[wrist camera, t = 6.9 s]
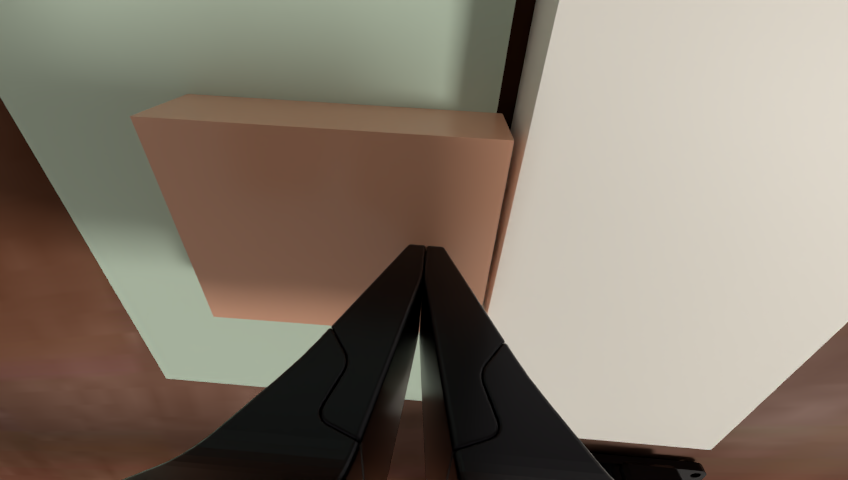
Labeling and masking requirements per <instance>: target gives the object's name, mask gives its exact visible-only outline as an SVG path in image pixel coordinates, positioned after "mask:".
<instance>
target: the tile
mask: <svg viewBox="0 0 848 480" xmlns="http://www.w3.org/2000/svg"><path fill="white" fill-rule="evenodd" d="M130 118H131V120H132V123H133V125H134V128H135V130H136V132H137V135H138V137H139V140H140V142H141V144H142V147H143V149H144V151H145V154H146V156H147V159H148V161H149V163H150V166H151V168H152V171H153V173H154V175H155V178H156V180H157V183H158V185H159V187H160V190H161V192H162V195H163V197H164V199H165V202H166V204H167V207H168V209H169V211H170V214H171V216H172V218H173V221H174V223H175V226H176V228H177V230H178V233H179V235H180V238H181V240H182V242H183V245H184V247H185V250H186V252H187V254H188V257H189V259H190V262H191V264H192V266H193V269H194V271H195V274H196V276H197V278H198V281H199V283H200V285H201V288H202V290H203V293H204V295H205V297H206V300H207V302H208V305H209V307H210V309H211V312H212V314H213V317H224V318H237V319H250V320H263V321H276V322H290V323H303V324H316V325H329V326H332V325H333V324H334V323H335V322H336V321H337V320H338V319H339V318H340V317H341V316H342V314H343V313H344V312H345V311H346V310H347V309H348V308H349V307H350V306H351V305H352V304H353V303H354V302H355V301H356V300H357V299H358V298H359V297H360V295H361V294H362V293H363V292H364V291H365V290H366V289H367V288H368V287H369V286H370V285H371V284H372V283H373V282H374V281H375V280H376V279H377V277H378V276H379V275H380V274H381V273H382V272H383V271H384V270H385V269H386V268H387V267H388V266H389V265H390V264H391V263H392V262H393V261H394V260H395V258H396V257H397V256H398V255H399V254H400V253H401V252H402V251H403V250H404V249H405V248H406V247H407V246H408V245H409V244H416V245H424V246H425V247H427V246H440V247H443V248H445V250H446V251H447V253H448V255H449V256H450V258H451V259H452V261H453V262H454V264H455V265H456V267H457V268H458V270H459V271H460V273H461V275H462V276H463V278H464V279H465V281H466V282H467V284H468V285H469V287H470V288H471V290H472V291H473V293H474V294H475V296H476V298H477V299H478V301H479V302H480V304H481V305H483V300H484V295H485V290H486V285H487V280H488V274H489V269H490V264H491V259H492V254H493V249H494V243H495V238H496V233H497V228H498V223H499V218H500V212H501V207H502V202H503V197H504V192H505V187H506V181H507V176H508V171H509V166H510V161H511V155H512V150H513V145H514V139H513V136H512V134H511V132H510V130H509V127H508V125H507V123H506V120H505V118H504V116H503V114H502V113H488V112H472V111H456V110H440V109H424V108H407V107H391V106H375V105H359V104H343V103H327V102H310V101H294V100H278V99H262V98H246V97H230V96H214V95H197V94H186V95H183V96H181V97H178V98H175V99H173V100H170V101H168V102H165V103H163V104H160V105H157V106H155V107H152V108H150V109H147V110H145V111H142V112H139V113H137V114H134V115H132V116H130ZM420 317H421V315H420ZM419 332H420V327H419Z"/></svg>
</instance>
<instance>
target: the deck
mask: <svg viewBox="0 0 848 480" xmlns="http://www.w3.org/2000/svg"><path fill="white" fill-rule="evenodd" d="M510 132H511V134H512V136H513V139H514V145H513V150H512V155H511V161H510V166H509V171H508V176H507V181H506V187H505V192H504V197H503V202H502V207H501V212H500V218H499V223H498V228H497V233H496V238H495V243H494V249H493V254H492V259H491V264H490V269H489V274H488V280H487V285H486V290H485V295H484V300H483V305H482V307H483V308H484V310H485V311H486V313H487V314H488V316H489V318H490V319H491V321H492V322H493V324H494V325H495V327H496V328H497V330H498V331H499V333H500V334H501V336H502V338H503V339H504V341H505V343H506V344H507V345H508V346H509V348H510V350H511V351H512V353H513V354H514V356H515V357H516V359H517V360H518V362H519V363H520V365H521V366H522V367H523V369H524V370H525V372H526V373H527V375H528V376H529V378H530V379H531V380H532V381H533V383H534V384H535V385H536V386H537V388H538V389H539V390H540V392H541V393H542V394H543V395H544V397H545V398H546V399H547V400H548V402H549V403H550V404H551V405H552V407H553V408H554V409H555V410H556V411H557V413H558V414H559V415H560V416H561V418H562V419H563V420H564V421H565V422H566V424H567V425H568V426H569V427H570V428H571V430H572V431H573V432H574V433H575V435H576V436H577V437H578V438H582V439H594V440H605V441H616V442H627V443H639V444H650V445H661V446H672V447H684V448H695V449H706V450H711V449H712V448H713V447H714V446H715V445H716V444H718V443H719V442H720V441H721V440H722V439H723V438H724V437H725V436H726V435H727V434H728V433H729V432H730V431H731V430H733V429H734V428H735V427H736V426H737V425H738V424H739V423H740V422H741V421H742V420H743V419H744V418H745V417H746V416H748V415H749V414H750V413H751V412H752V411H753V410H754V409H755V408H756V407H757V406H758V405H759V404H760V403H761V402H762V401H764V400H765V399H766V398H767V397H768V396H769V395H770V394H771V393H772V392H773V391H774V390H775V389H776V388H777V387H779V386H780V385H781V384H782V383H783V382H784V381H785V380H786V379H787V378H788V377H789V376H790V375H791V374H792V373H794V372H795V371H796V370H797V369H798V368H799V367H800V366H801V365H802V364H803V363H804V362H805V361H806V360H807V359H809V358H810V357H811V356H812V355H813V354H814V353H815V352H816V351H817V350H818V349H819V348H820V347H821V346H822V345H823V344H825V343H826V342H827V341H828V340H829V339H830V338H831V337H832V336H833V335H834V334H835V333H836V332H837V331H838V330H840V329H841V328H842V327H843V326H844V325H845V324H846V323H847V322H848V0H536V3H535V8H534V13H533V18H532V23H531V28H530V33H529V38H528V43H527V48H526V53H525V58H524V63H523V69H522V74H521V79H520V84H519V89H518V94H517V99H516V104H515V109H514V114H513V119H512V124H511V129H510Z"/></svg>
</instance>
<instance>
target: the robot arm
mask: <svg viewBox="0 0 848 480" xmlns="http://www.w3.org/2000/svg"><path fill="white" fill-rule="evenodd" d="M420 315H421V317H420ZM419 327H420V332H419ZM418 335H419V345H420V367H421V388H422V410H423V432H424V453H425V475H426V480H702V479H703V478H704V477H705V476H706V472H705V470H704V468H703V467H702V465H701V464H700V463H696V462H685V461H673V460H662V459H651V458H640V457H629V456H618V455H606V454H595V453H590V452H589V450H588V449H587V448H586V447H585V445H584V444H583V443H582V442H581V441H580V439H579V438H578V437H577V436H576V435H575V433H574V432H573V431H572V430H571V428H570V427H569V426H568V425H567V424H566V422H565V421H564V420H563V419H562V418H561V416H560V415H559V414H558V413H557V411H556V410H555V409H554V408H553V407H552V405H551V404H550V403H549V402H548V400H547V399H546V398H545V397H544V395H543V394H542V393H541V392H540V390H539V389H538V388H537V386H536V385H535V384H534V383H533V381H532V380H531V379H530V378H529V376H528V375H527V373H526V372H525V370H524V369H523V367H522V366H521V365H520V363H519V362H518V360H517V359H516V357H515V356H514V354H513V353H512V351H511V350H510V348H509V346H508V345H507V344H506V343H505V341H504V339H503V338H502V336H501V334H500V333H499V331H498V330H497V328H496V327H495V325H494V324H493V322H492V321H491V319H490V318H489V316H488V314H487V313H486V311H485V310H484V308H483V307H482V305H481V304H480V302H479V301H478V299H477V298H476V296H475V294H474V293H473V291H472V290H471V288H470V287H469V285H468V284H467V282H466V281H465V279H464V278H463V276H462V275H461V273H460V271H459V270H458V268H457V267H456V265H455V264H454V262H453V261H452V259H451V258H450V256H449V255H448V253H447V251H446V250H445V248H443V247H440V246H427V247H425V246H424V245H416V244H409V245H408V246H407V247H406V248H405V249H404V250H403V251H402V252H401V253H400V254H399V255H398V256H397V257H396V258H395V260H394V261H393V262H392V263H391V264H390V265H389V266H388V267H387V268H386V269H385V270H384V271H383V272H382V273H381V274H380V275H379V276H378V277H377V279H376V280H375V281H374V282H373V283H372V284H371V285H370V286H369V287H368V288H367V289H366V290H365V291H364V292H363V293H362V294H361V295H360V297H359V298H358V299H357V300H356V301H355V302H354V303H353V304H352V305H351V306H350V307H349V308H348V309H347V310H346V311H345V312H344V313H343V314H342V316H341V317H340V318H339V319H338V320H337V321H336V322H335V323H334V324H333V325H332V326H331V328H329V329H328V330H327V331H326V332H325V333H324V334H323V335H322V336H321V338H320V339H319V340H318V341H317V342H316V343H315V344H314V345H313V346H312V347H311V348H310V349H309V350H308V351H307V352H306V353H305V354H304V355H303V356H302V357H301V358H299V359H298V360H297V361H296V362H295V363H294V364H293V365H292V366H290V367H289V368H288V369H287V370H286V371H285V372H284V373H283V374H281V375H280V376H279V377H278V378H277V379H276V380H275V381H273V382H272V383H271V384H270V385H269V386H268V387H266V388H265V389H264V390H263V391H262V392H260V393H259V394H258V395H257V396H256V397H255V398H253V399H252V400H251V401H250V402H249V403H247V404H246V405H245V406H244V407H243V408H242V409H240V410H239V411H238V412H237V413H236V414H234V415H233V416H232V417H231V418H230V419H229V420H227V421H226V422H225V423H224V424H223V425H222V426H220V427H219V428H218V429H217V430H215V431H214V432H213V433H212V434H210V435H209V436H208V437H207V438H205V439H204V440H202V441H201V442H200V443H198V444H197V445H195V446H194V447H192V448H191V449H189V450H187V451H186V452H184V453H183V454H181V455H179V456H177V457H175V458H173V459H171V460H170V461H167V462H165V463H163V464H160V465H158V466H156V467H153V468H151V469H148V470H146V471H143V472H140V473H138V474H135V475H133V476H130V477H128V478H125V479H123V480H387V476H388V472H389V467H390V463H391V458H392V454H393V449H394V445H395V440H396V436H397V431H398V427H399V422H400V418H401V413H402V409H403V404H404V400H405V395H406V391H407V386H408V381H409V377H410V372H411V368H412V363H413V359H414V354H415V350H416V345H417V340H418Z"/></svg>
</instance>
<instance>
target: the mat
mask: <svg viewBox="0 0 848 480" xmlns="http://www.w3.org/2000/svg"><path fill="white" fill-rule="evenodd" d="M515 3H516V0H0V98H1V99H2V101H3V103H4V104H5V106H6V108H7V109H8V111H9V113H10V114H11V116H12V118H13V120H14V121H15V123H16V125H17V126H18V128H19V130H20V131H21V133H22V135H23V136H24V138H25V140H26V142H27V143H28V145H29V147H30V148H31V150H32V152H33V153H34V155H35V157H36V158H37V160H38V162H39V164H40V165H41V167H42V169H43V170H44V172H45V174H46V175H47V177H48V179H49V181H50V182H51V184H52V186H53V187H54V189H55V191H56V192H57V194H58V196H59V197H60V199H61V201H62V203H63V204H64V206H65V208H66V209H67V211H68V213H69V214H70V216H71V218H72V219H73V221H74V223H75V225H76V226H77V228H78V230H79V231H80V233H81V235H82V236H83V238H84V240H85V241H86V243H87V245H88V247H89V248H90V250H91V252H92V253H93V255H94V257H95V258H96V260H97V262H98V263H99V265H100V267H101V269H102V270H103V272H104V274H105V275H106V277H107V279H108V280H109V282H110V284H111V286H112V287H113V289H114V291H115V292H116V294H117V296H118V297H119V299H120V301H121V302H122V304H123V306H124V308H125V309H126V311H127V313H128V314H129V316H130V318H131V319H132V321H133V323H134V324H135V326H136V328H137V330H138V331H139V333H140V335H141V336H142V338H143V340H144V341H145V343H146V345H147V346H148V348H149V350H150V352H151V353H152V355H153V357H154V358H155V360H156V362H157V363H158V365H159V367H160V368H161V370H162V372H163V374H164V375H165V377H166V378H167V379H179V380H190V381H201V382H213V383H224V384H235V385H247V386H258V387H268V386H269V385H270V384H271V383H272V382H273V381H275V380H276V379H277V378H278V377H279V376H280V375H281V374H283V373H284V372H285V371H286V370H287V369H288V368H289V367H290V366H292V365H293V364H294V363H295V362H296V361H297V360H298V359H299V358H301V357H302V356H303V355H304V354H305V353H306V352H307V351H308V350H309V349H310V348H311V347H312V346H313V345H314V344H315V343H316V342H317V341H318V340H319V339H320V338H321V336H322V335H323V334H324V333H325V332H326V331H327V330H328V329H329V328H331V326H329V325H316V324H303V323H290V322H276V321H263V320H250V319H237V318H224V317H213V314H212V312H211V309H210V307H209V305H208V302H207V300H206V297H205V295H204V293H203V290H202V288H201V285H200V283H199V281H198V278H197V276H196V274H195V271H194V269H193V266H192V264H191V262H190V259H189V257H188V254H187V252H186V250H185V247H184V245H183V242H182V240H181V238H180V235H179V233H178V230H177V228H176V226H175V223H174V221H173V218H172V216H171V214H170V211H169V209H168V207H167V204H166V202H165V199H164V197H163V195H162V192H161V190H160V187H159V185H158V183H157V180H156V178H155V175H154V173H153V171H152V168H151V166H150V163H149V161H148V159H147V156H146V154H145V151H144V149H143V147H142V144H141V142H140V140H139V137H138V135H137V132H136V130H135V128H134V125H133V123H132V120H131V118H130V116H132V115H134V114H137V113H139V112H142V111H145V110H147V109H150V108H152V107H155V106H157V105H160V104H163V103H165V102H168V101H170V100H173V99H175V98H178V97H181V96H183V95H186V94H197V95H214V96H230V97H246V98H262V99H278V100H294V101H310V102H327V103H343V104H359V105H375V106H391V107H407V108H424V109H440V110H456V111H472V112H488V113H497V108H498V102H499V96H500V90H501V84H502V79H503V73H504V67H505V61H506V55H507V49H508V44H509V38H510V32H511V26H512V20H513V14H514V9H515ZM405 399H406V400H417V401H422V388H421V367H420V345H419V335H418V340H417V345H416V350H415V354H414V359H413V363H412V368H411V372H410V377H409V381H408V386H407V391H406V395H405Z"/></svg>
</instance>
